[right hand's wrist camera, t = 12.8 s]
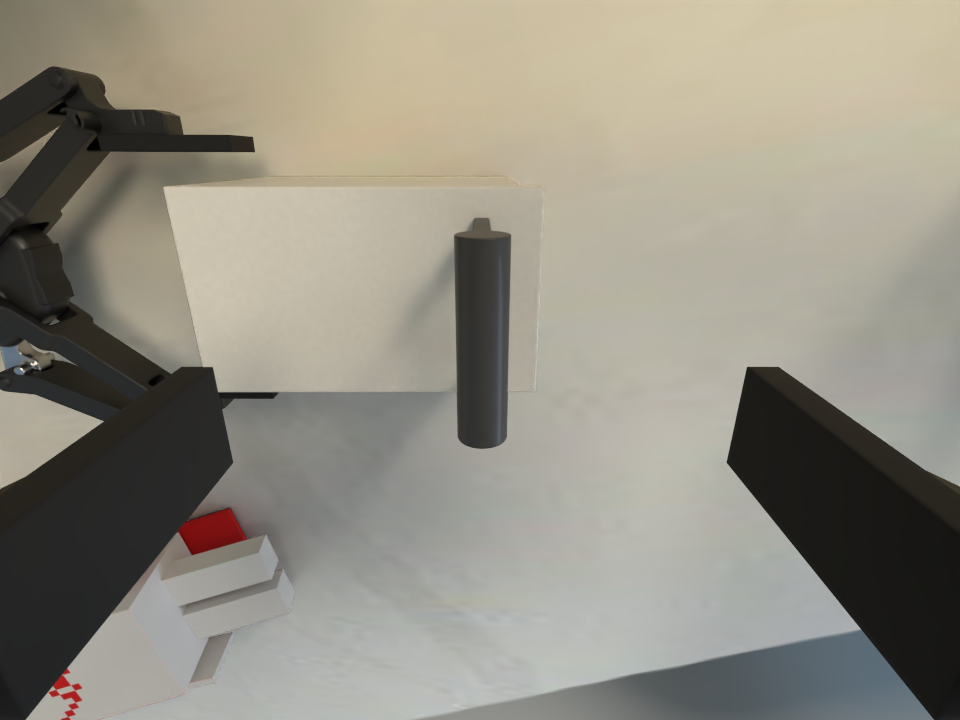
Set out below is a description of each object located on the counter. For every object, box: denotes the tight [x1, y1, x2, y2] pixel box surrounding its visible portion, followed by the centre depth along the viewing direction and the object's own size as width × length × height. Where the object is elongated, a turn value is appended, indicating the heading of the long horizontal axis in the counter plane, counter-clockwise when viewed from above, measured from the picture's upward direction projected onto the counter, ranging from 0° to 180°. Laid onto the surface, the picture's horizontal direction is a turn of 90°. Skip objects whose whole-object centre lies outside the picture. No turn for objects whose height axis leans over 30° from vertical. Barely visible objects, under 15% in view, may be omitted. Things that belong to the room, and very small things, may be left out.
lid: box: [163, 185, 545, 449], centre depth 21 cm, size 16×10×8 cm, turn 90°
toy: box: [26, 508, 295, 720], centre depth 41 cm, size 12×13×30 cm
